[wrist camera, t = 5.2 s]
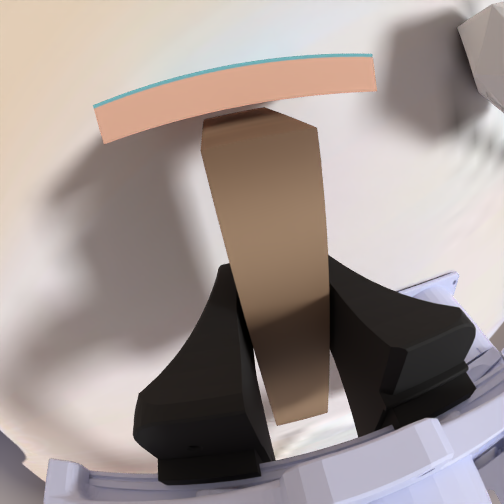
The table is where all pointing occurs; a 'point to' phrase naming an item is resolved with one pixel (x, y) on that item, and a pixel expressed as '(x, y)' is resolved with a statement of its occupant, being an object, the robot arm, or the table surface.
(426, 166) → the table surface
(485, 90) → the die
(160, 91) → the tile
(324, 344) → the tapered tan wedge
